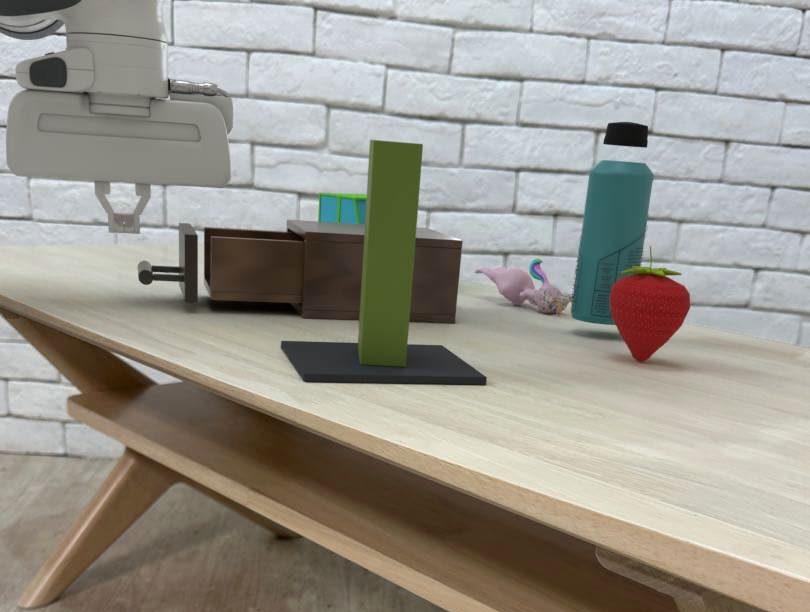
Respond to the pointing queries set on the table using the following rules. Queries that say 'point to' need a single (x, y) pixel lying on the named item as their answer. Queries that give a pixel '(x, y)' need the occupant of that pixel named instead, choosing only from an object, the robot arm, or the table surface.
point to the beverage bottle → (611, 225)
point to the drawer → (236, 265)
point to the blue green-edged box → (342, 208)
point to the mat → (345, 366)
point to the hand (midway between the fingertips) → (124, 233)
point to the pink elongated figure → (527, 287)
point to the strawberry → (648, 308)
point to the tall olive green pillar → (389, 252)
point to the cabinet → (342, 272)
